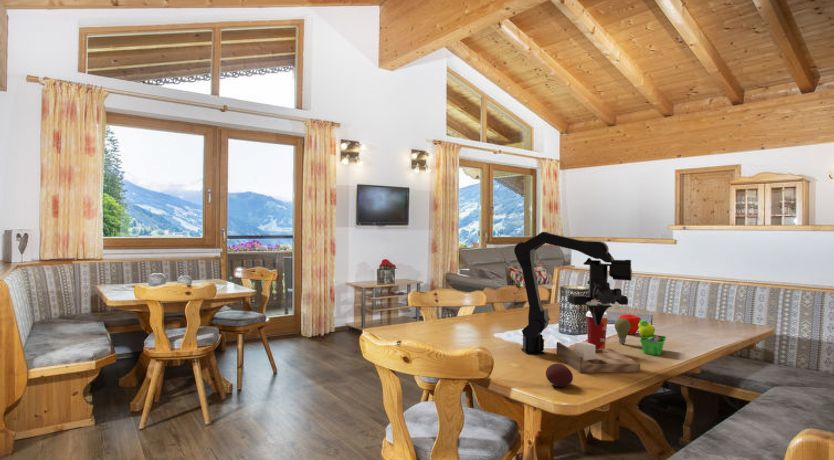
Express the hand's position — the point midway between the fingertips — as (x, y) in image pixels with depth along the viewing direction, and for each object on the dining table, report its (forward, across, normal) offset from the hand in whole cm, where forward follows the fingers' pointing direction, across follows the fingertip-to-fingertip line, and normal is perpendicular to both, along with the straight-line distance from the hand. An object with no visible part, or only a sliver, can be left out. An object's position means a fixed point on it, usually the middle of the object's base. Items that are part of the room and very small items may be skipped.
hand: (597, 325), depth 163 cm
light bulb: (+12, +21, +21) cm, 32 cm away
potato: (+12, -23, -23) cm, 35 cm away
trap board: (+12, -2, -4) cm, 13 cm away
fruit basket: (+12, +26, +10) cm, 30 cm away
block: (+10, -7, -5) cm, 13 cm away
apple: (+12, +34, +38) cm, 52 cm away
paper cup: (+12, +6, +12) cm, 18 cm away
